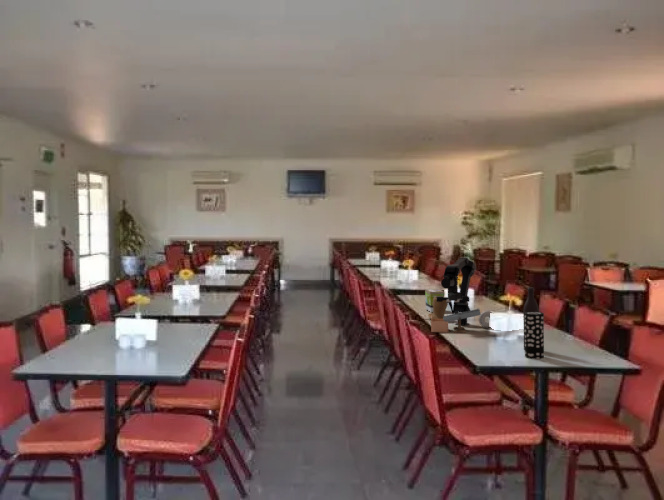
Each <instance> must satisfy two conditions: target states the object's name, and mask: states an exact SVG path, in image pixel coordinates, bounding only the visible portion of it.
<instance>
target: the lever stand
mask: <svg viewBox="0 0 664 500" xmlns="http://www.w3.org/2000/svg"><path fill="white" fill-rule="evenodd" d="M457 323H458V325H457V326H453V330H454V331H453V332H454V333H455V334H458V333H459V334H464V333H466V330H465V326H462V325H461V318H459V320H457Z"/></svg>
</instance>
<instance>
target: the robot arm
mask: <svg viewBox="0 0 664 500" xmlns="http://www.w3.org/2000/svg"><path fill="white" fill-rule="evenodd" d="M476 269H477V267H476V264H475V263H474V261H472V260H471V259H469V258H468V257H459V259H458V260H457V261H455V262H454V263H453V264H448V265H447V266H446V267H445V269H444V272H443V276H442V277H443V279H442V280H441V283H440V284H441V287H442V288H444V289H447V296H446V297H445V296H444V297H443V296H437V302H442V301H443V300H446V303H448V306H449V308H450V311H451V313H452V314H457V313H461V312H466V311H471V310H472V309H470V305H469V302H470V297H469V296H468V293H469V288H470V283H471V278H472V277H473V276H474V275H475V271H476ZM460 273H461V274H462V278H461V285H460V289H459V288H458V287H459V285H458V279H459V274H460ZM458 290H459V291H458ZM452 301H453V302H452ZM452 314H451V315H452ZM455 325H457V326H458V322H457V323H456V322H455ZM468 325H470V322H468V318H464V319H461V326H468Z"/></svg>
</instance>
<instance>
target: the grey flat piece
mask: <svg viewBox="0 0 664 500" xmlns="http://www.w3.org/2000/svg"><path fill="white" fill-rule="evenodd" d="M470 310H471V311H466V312H461V313H457V314H448V315H444V316H443V320H444V321H448V323H450V322H453V321H458V320H459V318H461V319H464V318H467V319H469V318H473V317H477V316H478V317H479V316H480V315H481V313H482V312H481V310H480V307H478V308H477V309H470Z"/></svg>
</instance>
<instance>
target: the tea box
mask: <svg viewBox="0 0 664 500" xmlns="http://www.w3.org/2000/svg"><path fill="white" fill-rule="evenodd" d="M424 293H425V294H424V295H425V296H424V297H425V300H424V301H425V310H426V311H427V310H428V312H429V311H430V312H429V313H431V312H433V298H434V297H435V296H443V297H445V291H443V290H441V289H439V288H434V289H433V288H431V289H430V288H429V289H425V291H424Z"/></svg>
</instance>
